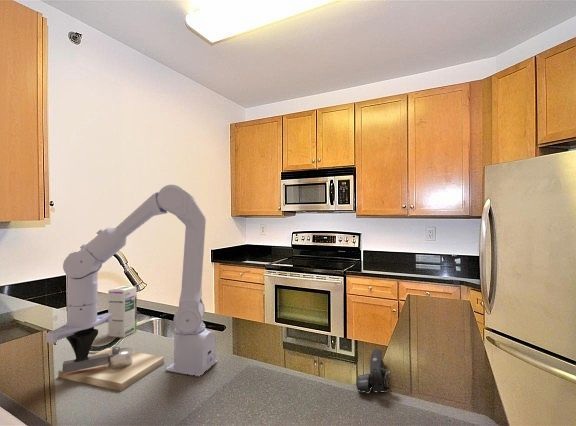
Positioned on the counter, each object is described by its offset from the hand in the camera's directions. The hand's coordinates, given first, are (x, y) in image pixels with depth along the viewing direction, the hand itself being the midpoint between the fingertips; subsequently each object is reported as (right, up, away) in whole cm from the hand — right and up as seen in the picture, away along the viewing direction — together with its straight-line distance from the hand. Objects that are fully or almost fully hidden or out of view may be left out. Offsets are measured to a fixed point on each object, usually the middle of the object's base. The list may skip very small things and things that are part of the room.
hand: (81, 363), depth 70 cm
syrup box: (-5, -4, +26) cm, 26 cm away
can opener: (+67, -3, -1) cm, 67 cm away
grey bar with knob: (+4, -1, 0) cm, 4 cm away
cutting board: (+6, -3, +3) cm, 7 cm away
